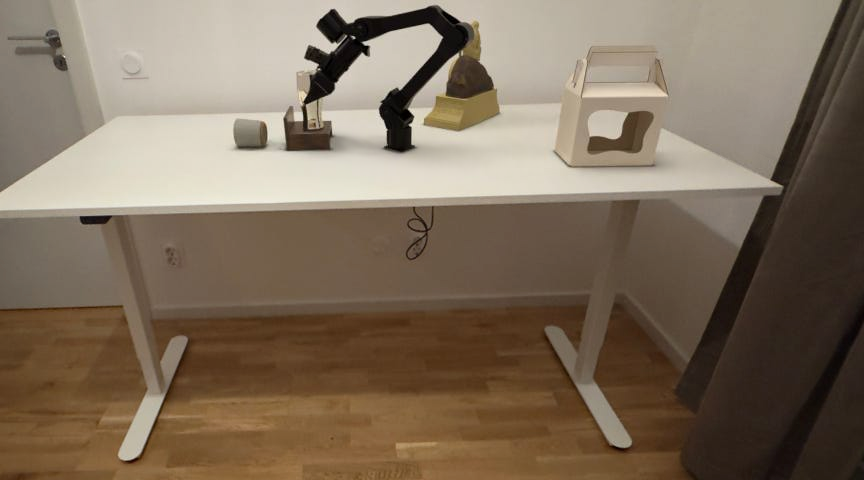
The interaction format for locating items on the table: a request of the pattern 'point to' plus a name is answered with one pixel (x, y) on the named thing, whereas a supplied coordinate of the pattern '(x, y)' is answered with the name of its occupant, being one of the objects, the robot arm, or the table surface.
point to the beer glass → (313, 109)
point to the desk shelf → (305, 134)
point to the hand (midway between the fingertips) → (306, 99)
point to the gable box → (632, 97)
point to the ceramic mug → (250, 133)
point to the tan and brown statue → (465, 91)
